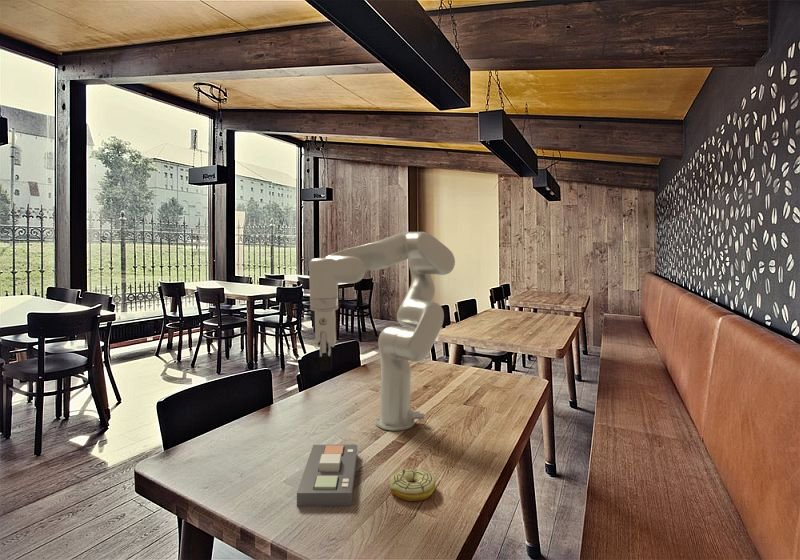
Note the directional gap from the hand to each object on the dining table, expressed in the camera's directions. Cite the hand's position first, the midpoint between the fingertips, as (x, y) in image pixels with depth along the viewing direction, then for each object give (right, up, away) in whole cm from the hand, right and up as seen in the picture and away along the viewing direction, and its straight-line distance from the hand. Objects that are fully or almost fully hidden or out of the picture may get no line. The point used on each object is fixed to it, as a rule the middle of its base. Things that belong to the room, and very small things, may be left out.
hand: (325, 369), depth 124 cm
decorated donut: (+23, -26, -17) cm, 39 cm away
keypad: (+3, -24, -12) cm, 27 cm away
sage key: (+3, -25, -20) cm, 32 cm away
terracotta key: (+3, -23, -4) cm, 24 cm away
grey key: (+3, -22, -12) cm, 26 cm away
